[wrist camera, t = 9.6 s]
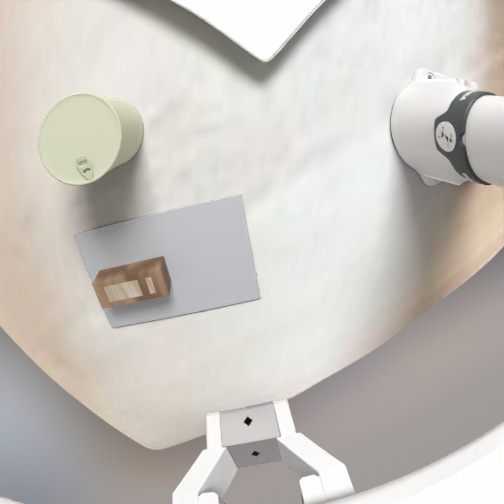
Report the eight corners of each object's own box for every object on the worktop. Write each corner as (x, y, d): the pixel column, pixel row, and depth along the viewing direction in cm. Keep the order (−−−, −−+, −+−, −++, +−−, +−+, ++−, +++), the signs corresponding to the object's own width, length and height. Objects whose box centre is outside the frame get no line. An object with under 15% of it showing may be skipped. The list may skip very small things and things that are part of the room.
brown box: (160, 269, 39) (91, 284, 39) (169, 295, 41) (102, 308, 40) (163, 255, 43) (99, 270, 42) (171, 280, 45) (109, 293, 44)
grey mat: (241, 194, 42) (241, 194, 41) (260, 296, 48) (260, 298, 48) (75, 234, 40) (74, 235, 40) (112, 326, 47) (112, 327, 46)
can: (90, 178, 37) (53, 201, 27) (69, 115, 34) (24, 117, 23) (153, 152, 38) (134, 166, 27) (132, 86, 34) (105, 75, 23)
